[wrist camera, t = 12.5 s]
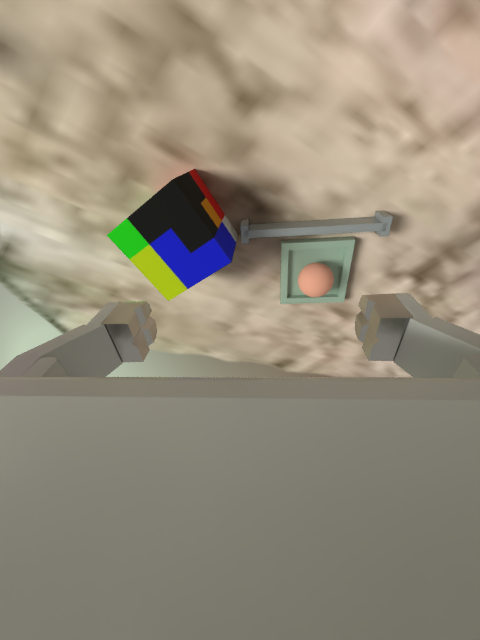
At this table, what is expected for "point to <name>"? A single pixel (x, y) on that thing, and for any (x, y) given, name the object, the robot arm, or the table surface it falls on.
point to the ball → (315, 279)
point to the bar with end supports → (318, 227)
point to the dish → (311, 251)
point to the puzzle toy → (177, 236)
